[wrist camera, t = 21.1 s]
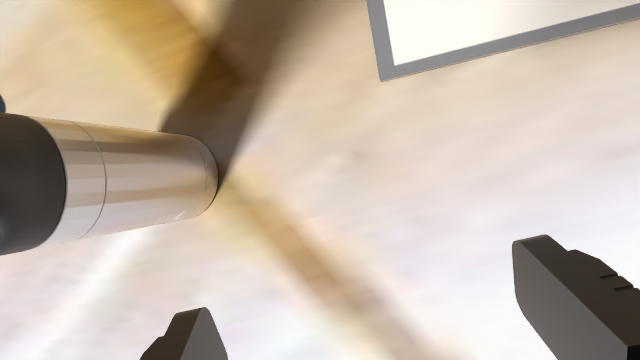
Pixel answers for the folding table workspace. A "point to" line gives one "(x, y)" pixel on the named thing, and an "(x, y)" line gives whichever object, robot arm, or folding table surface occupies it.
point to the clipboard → (478, 28)
